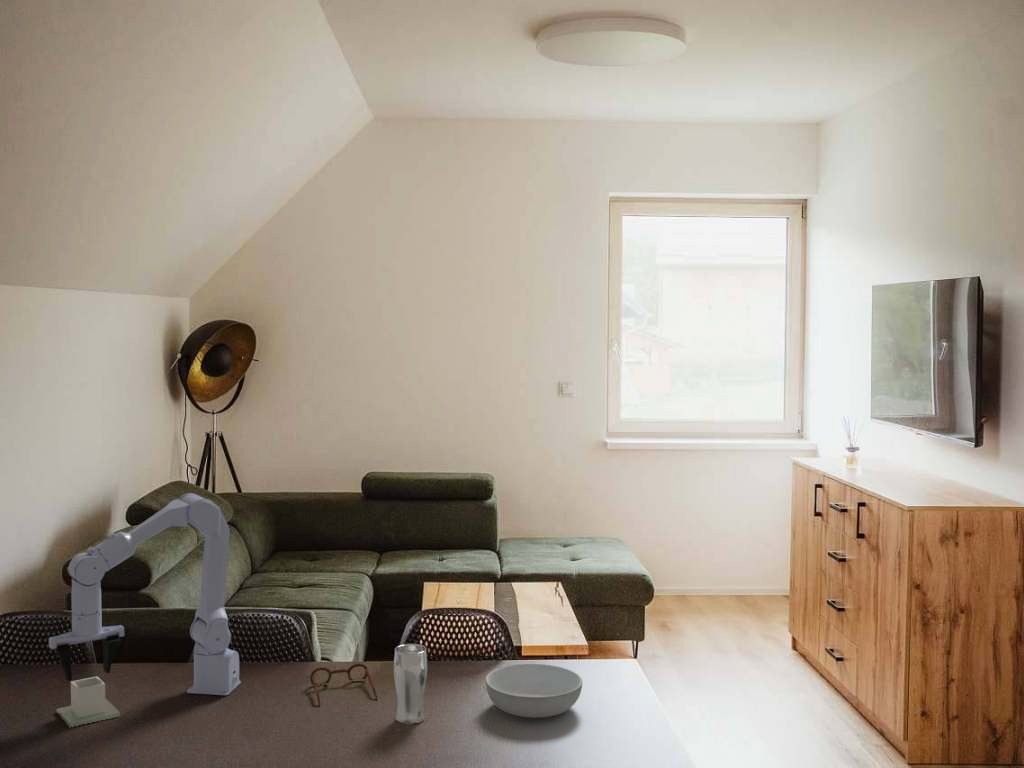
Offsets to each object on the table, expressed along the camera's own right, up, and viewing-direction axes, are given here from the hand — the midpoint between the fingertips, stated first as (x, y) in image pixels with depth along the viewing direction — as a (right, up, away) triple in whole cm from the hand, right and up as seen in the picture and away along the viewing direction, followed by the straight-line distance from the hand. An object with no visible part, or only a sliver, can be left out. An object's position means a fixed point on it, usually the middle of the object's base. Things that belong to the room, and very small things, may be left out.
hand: (87, 675), depth 212 cm
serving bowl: (+93, -9, +6) cm, 94 cm away
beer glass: (+67, -9, 0) cm, 68 cm away
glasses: (+51, -9, +14) cm, 54 cm away
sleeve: (0, -8, +1) cm, 8 cm away
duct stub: (0, -8, +1) cm, 8 cm away
